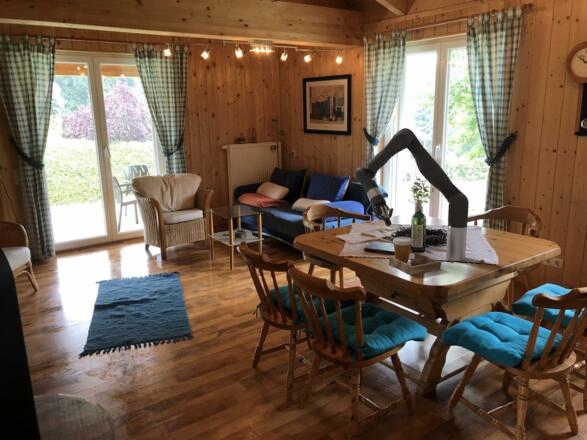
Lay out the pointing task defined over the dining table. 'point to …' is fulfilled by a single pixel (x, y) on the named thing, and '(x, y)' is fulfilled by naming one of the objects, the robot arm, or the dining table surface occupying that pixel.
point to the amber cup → (402, 248)
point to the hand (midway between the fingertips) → (389, 225)
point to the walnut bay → (426, 266)
